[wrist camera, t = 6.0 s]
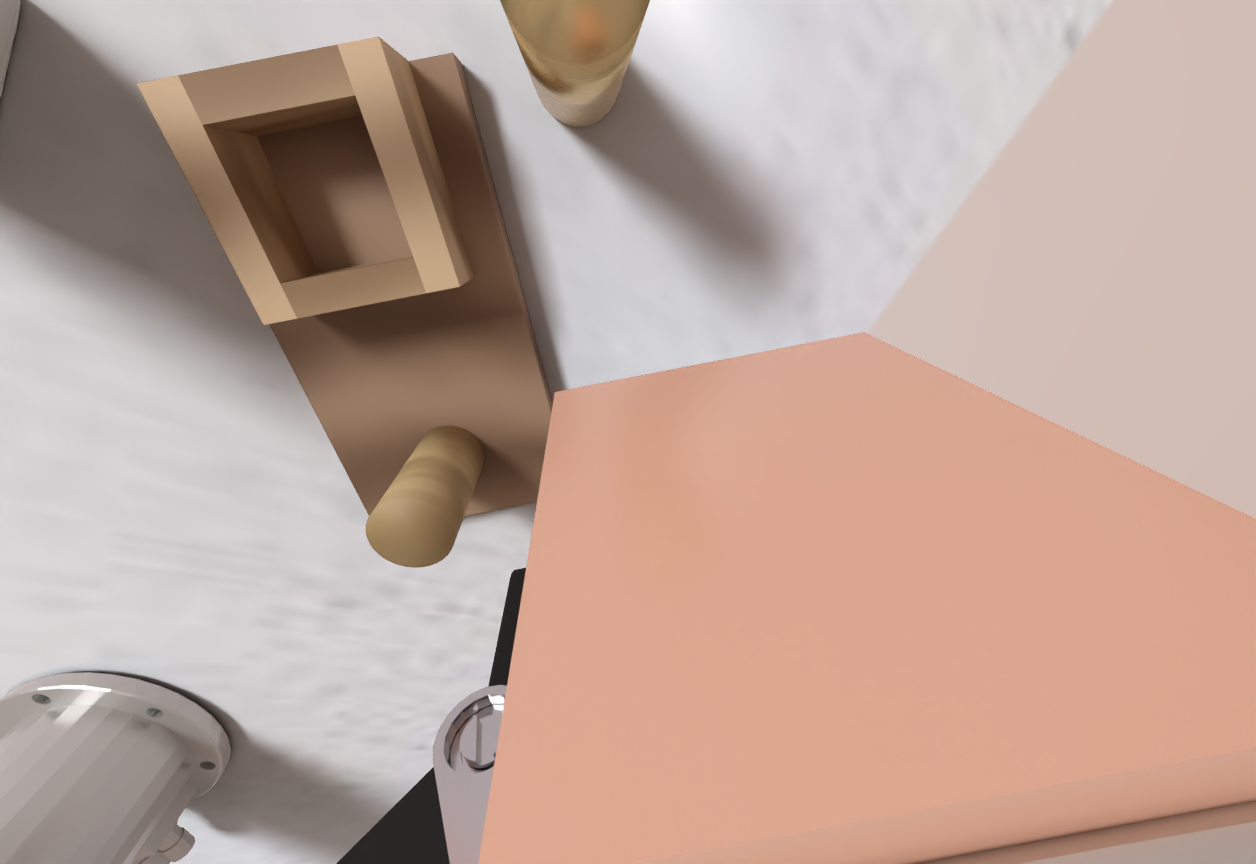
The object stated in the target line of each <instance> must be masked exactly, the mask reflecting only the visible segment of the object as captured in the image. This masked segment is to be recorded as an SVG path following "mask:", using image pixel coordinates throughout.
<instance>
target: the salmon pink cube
mask: <svg viewBox="0 0 1256 864" xmlns="http://www.w3.org/2000/svg"><path fill="white" fill-rule="evenodd" d="M1250 801H1256V519H1255V518H1253V517H1251V516H1248V515H1246V514H1244V513H1242V512H1240V511H1238V510H1236V509H1234V508H1231V507H1230V506H1227V505H1225V504H1223V503H1221V502H1219V501H1217V500H1215V499H1213V498H1210V497H1209V496H1206V495H1204V494H1202V493H1200V492H1198V491H1196V490H1194V489H1192V488H1189V487H1188V486H1186V485H1183V484H1181V483H1179V482H1177V481H1175V480H1173V479H1171V478H1169V477H1167V476H1165V475H1162V474H1160V473H1158V472H1156V471H1154V470H1152V469H1150V468H1148V467H1145V466H1144V465H1141V464H1139V463H1137V462H1135V461H1133V460H1131V459H1129V458H1127V457H1125V456H1122V455H1120V454H1118V453H1116V452H1114V451H1112V450H1110V449H1108V448H1106V447H1103V446H1102V445H1099V444H1097V443H1095V442H1093V441H1091V440H1089V439H1087V438H1085V437H1083V436H1081V435H1078V434H1076V433H1074V432H1072V431H1070V430H1068V429H1066V428H1064V427H1062V426H1059V425H1057V424H1055V423H1053V422H1051V421H1049V420H1047V419H1045V418H1043V417H1041V416H1038V415H1036V414H1034V413H1032V412H1030V411H1028V410H1026V409H1024V408H1022V407H1020V406H1017V405H1015V404H1013V403H1011V402H1009V401H1007V400H1005V399H1003V398H1001V397H999V396H997V395H995V394H992V393H990V392H988V391H986V390H984V389H982V388H980V387H978V386H975V385H974V384H971V383H969V382H967V381H965V380H963V379H961V378H959V377H957V376H955V375H953V374H950V373H948V372H946V371H944V370H942V369H940V368H938V367H936V366H934V365H932V364H929V363H927V362H925V361H923V360H921V359H919V358H917V357H915V356H912V355H911V354H908V353H906V352H904V351H902V350H900V349H898V348H896V347H894V346H891V345H889V344H887V343H885V342H883V341H881V340H879V339H877V338H875V337H873V336H871V335H869V334H866V333H864V332H863V333H858V334H853V335H848V336H843V337H838V338H832V339H827V340H822V341H817V342H812V343H806V344H801V345H796V346H791V347H786V348H781V349H775V350H770V351H765V352H760V353H755V354H749V355H744V356H739V357H734V358H729V359H724V360H718V361H713V362H708V363H703V364H698V365H692V366H687V367H682V368H677V369H672V370H667V371H661V372H656V373H651V374H646V375H641V376H635V377H630V378H625V379H620V380H615V381H610V382H604V383H599V384H594V385H589V386H584V387H579V388H573V389H568V390H563V391H558V392H555V394H554V400H553V406H552V413H551V419H550V425H549V431H548V437H547V443H546V449H545V456H544V462H543V468H542V474H541V480H540V486H539V493H538V499H537V505H536V511H535V517H534V523H533V529H532V536H531V542H530V548H529V554H528V560H527V566H526V572H525V579H524V585H523V591H522V597H521V603H520V609H519V615H518V622H517V628H516V634H515V640H514V646H513V652H512V658H511V665H510V671H509V677H508V683H507V689H506V695H505V701H504V708H503V714H502V720H501V726H500V732H499V738H498V745H497V751H496V757H495V763H494V769H493V775H492V781H491V788H490V794H489V800H488V806H487V812H486V818H485V824H484V831H483V837H482V843H481V849H480V855H479V861H478V864H916V863H922V862H927V861H933V860H938V859H943V858H949V857H954V856H959V855H965V854H970V853H976V852H981V851H986V850H992V849H997V848H1002V847H1008V846H1013V845H1018V844H1024V843H1029V842H1035V841H1040V840H1045V839H1051V838H1056V837H1061V836H1067V835H1072V834H1077V833H1083V832H1088V831H1094V830H1099V829H1104V828H1110V827H1115V826H1120V825H1126V824H1131V823H1136V822H1142V821H1147V820H1153V819H1158V818H1163V817H1169V816H1174V815H1179V814H1185V813H1190V812H1196V811H1201V810H1206V809H1212V808H1217V807H1223V806H1228V805H1234V804H1239V803H1245V802H1250Z"/></svg>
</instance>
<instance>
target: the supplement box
mask: <svg viewBox="0 0 1256 864" xmlns="http://www.w3.org/2000/svg"><path fill="white" fill-rule="evenodd" d="M20 4H21V2H20V0H0V98H1V94H2V90H3V85H4V80H5V76H6V71H7V67H8V63H9V60H10V55H11V50H12V45H13V41H14V37H15V34H16V29H17V24H18V19H19V12H20Z"/></svg>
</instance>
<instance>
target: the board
mask: <svg viewBox="0 0 1256 864" xmlns="http://www.w3.org/2000/svg"><path fill="white" fill-rule="evenodd" d="M137 86H138V87H139V89H140V91H141V93H142V95H143V97H144V99H145V101H146V103H147V105H148V106H149V108H150V110H151V112H152V114H153V116H154V118H155V120H156V122H157V124H158V125H159V127H160V129H161V131H162V133H163V135H164V137H165V139H166V141H167V143H168V144H169V146H170V148H171V150H172V152H173V154H174V156H175V158H176V160H177V162H178V164H179V165H180V167H181V169H182V171H183V173H184V175H185V177H186V179H187V181H188V183H189V184H190V186H191V188H192V190H193V192H194V194H195V196H196V198H197V200H198V202H199V203H200V205H201V207H202V209H203V211H204V213H205V215H206V217H207V219H208V221H209V222H210V224H211V226H212V228H213V230H214V232H215V234H216V236H217V238H218V240H219V241H220V243H221V245H222V247H223V249H224V251H225V253H226V255H227V257H228V259H229V261H230V262H231V264H232V266H233V268H234V270H235V272H236V274H237V276H238V278H239V280H240V281H241V283H242V285H243V287H244V289H245V291H246V293H247V295H248V297H249V299H250V300H251V302H252V304H253V306H254V308H255V310H256V312H257V314H258V316H259V318H260V319H261V321H262V323H263V325H267V324H270V326H271V328H272V330H273V332H274V334H275V336H276V338H277V339H278V341H279V343H280V345H281V347H282V349H283V351H284V353H285V355H286V357H287V359H288V361H289V363H290V364H291V366H292V368H293V370H294V372H295V374H296V376H297V378H298V380H299V382H300V384H301V386H302V388H303V389H304V391H305V393H306V395H307V397H308V399H309V401H310V403H311V405H312V407H313V409H314V411H315V413H316V415H317V416H318V418H319V420H320V422H321V424H322V426H323V428H324V430H325V432H326V434H327V436H328V438H329V440H330V441H331V443H332V445H333V447H334V449H335V451H336V453H337V455H338V457H339V459H340V461H341V463H342V465H343V466H344V468H345V470H346V472H347V474H348V476H349V478H350V480H351V482H352V484H353V486H354V488H355V490H356V492H357V493H358V495H359V497H360V499H361V501H362V503H363V505H364V507H365V509H366V511H367V513H368V515H369V518H368V520H367V524H366V535H367V539H368V541H369V543H370V545H371V546H372V548H373V549H374V550H375V551H376V552H377V553H378V554H379V555H380V556H382V557H383V558H385V559H386V560H388V561H390V562H392V563H395V564H398V565H401V566H406V567H425V566H430V565H433V564H435V563H437V562H439V561H441V560H442V559H444V558H445V557H446V556H447V555H448V554H449V553H450V551H451V549H452V547H453V545H454V542H455V539H456V537H457V534H458V531H459V529H460V526H461V523H462V521H463V518H464V516H468V515H473V514H478V513H483V512H488V511H493V510H498V509H504V508H509V507H514V506H519V505H524V504H529V503H534V502H537V499H538V493H539V486H540V480H541V474H542V468H543V462H544V456H545V449H546V443H547V437H548V431H549V425H550V419H551V413H552V406H553V404H552V400H551V396H550V392H549V389H548V385H547V381H546V377H545V374H544V370H543V366H542V363H541V359H540V355H539V351H538V348H537V344H536V340H535V336H534V333H533V329H532V325H531V321H530V318H529V314H528V310H527V307H526V303H525V299H524V295H523V292H522V288H521V284H520V280H519V277H518V273H517V269H516V266H515V262H514V258H513V254H512V251H511V247H510V243H509V239H508V236H507V232H506V228H505V224H504V221H503V217H502V213H501V210H500V206H499V202H498V198H497V195H496V191H495V187H494V183H493V180H492V176H491V172H490V169H489V165H488V161H487V157H486V154H485V150H484V146H483V142H482V139H481V135H480V131H479V127H478V124H477V120H476V116H475V113H474V109H473V105H472V101H471V98H470V94H469V90H468V86H467V83H466V79H465V75H464V72H463V68H462V64H461V62H460V61H459V59H458V58H457V57H456V56H455V55H454V54H453V53H449V54H444V55H439V56H434V57H429V58H424V59H418V60H413V61H408V60H406V59H405V58H404V57H403V56H402V55H400V54H399V53H398V52H397V51H395V50H394V49H393V48H392V47H391V46H389V45H388V44H387V43H386V42H385V41H383V40H382V39H381V38H380V37H374V38H369V39H364V40H359V41H354V42H348V43H343V44H338V45H333V46H328V47H323V48H318V49H312V50H307V51H302V52H297V53H292V54H287V55H281V56H276V57H271V58H266V59H261V60H256V61H251V62H245V63H240V64H235V65H230V66H225V67H220V68H214V69H209V70H204V71H199V72H194V73H189V74H184V75H178V76H173V77H168V78H163V79H158V80H153V81H147V82H142V83H137Z"/></svg>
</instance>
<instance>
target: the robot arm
mask: <svg viewBox="0 0 1256 864" xmlns="http://www.w3.org/2000/svg"><path fill="white" fill-rule="evenodd" d="M525 572H526V568H522V569H517V570H514V571H513V572H512V574H511V578H510V582H509V587H508V592H507V597H506V602H505V607H504V612H503V617H502V622H501V627H500V632H499V637H498V642H497V647H496V652H495V657H494V662H493V667H492V672H491V677H490V682H489V687H485V688H483V689H481V690H479V691H476V692H474V693H472V694H471V695H469V696H468V697H466V698H465V699H464V700H462V701H461V702H460V703H458V704H457V706H456V707H455V708H454V709H453V710H452V711H451V712H450V713H449V714H448V715H447V717H446V719H445V720H444V722H443V724H442V725H441V727H440V729H439V730H438V733H437V736H436V739H435V743H434V746H433V765H434V767H433V768H432V769H431V770H430V771H429V772H428V773H427V774H426V775H425V776H424V777H423V778H422V779H421V780H420V781H419V782H418V783H417V784H416V785H415V786H414V787H413V788H412V789H411V790H410V791H409V792H408V793H407V794H406V795H405V796H404V797H403V798H402V799H401V800H400V801H399V802H398V803H397V804H396V805H395V806H394V807H393V808H392V809H391V810H390V811H389V812H388V813H387V814H386V815H385V816H384V817H383V818H382V819H381V820H380V821H379V822H378V823H377V824H376V825H375V826H374V827H373V828H372V829H371V830H370V831H369V832H368V833H367V834H366V835H365V836H364V837H363V838H362V839H361V840H360V841H359V842H358V843H357V844H356V845H355V846H354V847H353V848H352V849H351V850H350V851H349V852H348V853H347V854H346V855H345V856H344V857H343V858H342V859H341V860H340V861H339V862H338V863H337V864H478V861H479V855H480V849H481V843H482V837H483V831H484V824H485V818H486V812H487V806H488V800H489V794H490V788H491V781H492V775H493V769H494V763H495V757H496V751H497V745H498V738H499V732H500V726H501V720H502V714H503V708H504V701H505V695H506V689H507V683H508V677H509V671H510V665H511V658H512V652H513V646H514V640H515V634H516V628H517V622H518V615H519V609H520V603H521V597H522V591H523V585H524V579H525ZM230 754H231V747H230V743H229V739H228V736H227V735H226V733H225V731H224V729H223V728H222V726H221V725H220V724H219V722H218V721H217V720H216V719H215V718H214V717H213V716H212V715H211V714H210V713H209V712H207V711H206V710H205V709H203V708H202V707H201V706H200V705H198V704H197V703H195V702H193V701H192V700H190V699H188V698H186V697H184V696H183V695H181V694H179V693H177V692H174V691H172V690H169V689H167V688H165V687H162V686H160V685H157V684H153V683H150V682H146V681H143V680H140V679H136V678H131V677H125V676H120V675H114V674H104V673H92V672H83V673H63V674H57V675H50V676H44V677H40V678H37V679H34V680H31V681H28V682H25V683H23V684H21V685H19V686H18V687H16V688H14V689H12V690H11V691H9V692H8V693H7V694H6V695H5V696H3V697H2V698H1V699H0V864H169V863H170V862H176V861H178V860H180V859H182V858H183V857H184V856H185V855H186V854H188V852H189V851H190V850H191V849H192V847H193V845H194V843H195V838H194V836H192V835H191V834H190V833H189V832H188V831H187V830H185V829H184V828H181V827H179V826H178V825H177V821H178V818H179V817H180V815H181V814H182V812H183V810H184V809H185V807H186V806H187V804H188V803H189V802H190V801H192V800H194V799H196V798H198V797H200V796H202V795H204V794H205V793H206V792H207V791H209V790H210V789H211V788H213V786H214V785H215V784H216V782H217V781H218V780H219V778H220V777H221V775H222V773H223V772H224V770H225V769H226V767H227V765H228V763H229V761H230ZM916 864H1256V801H1250V802H1245V803H1239V804H1234V805H1228V806H1223V807H1217V808H1212V809H1206V810H1201V811H1196V812H1190V813H1185V814H1179V815H1174V816H1169V817H1163V818H1158V819H1153V820H1147V821H1142V822H1136V823H1131V824H1126V825H1120V826H1115V827H1110V828H1104V829H1099V830H1094V831H1088V832H1083V833H1077V834H1072V835H1067V836H1061V837H1056V838H1051V839H1045V840H1040V841H1035V842H1029V843H1024V844H1018V845H1013V846H1008V847H1002V848H997V849H992V850H986V851H981V852H976V853H970V854H965V855H959V856H954V857H949V858H943V859H938V860H933V861H927V862H922V863H916Z"/></svg>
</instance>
